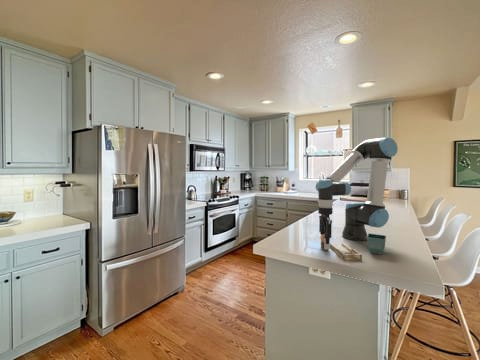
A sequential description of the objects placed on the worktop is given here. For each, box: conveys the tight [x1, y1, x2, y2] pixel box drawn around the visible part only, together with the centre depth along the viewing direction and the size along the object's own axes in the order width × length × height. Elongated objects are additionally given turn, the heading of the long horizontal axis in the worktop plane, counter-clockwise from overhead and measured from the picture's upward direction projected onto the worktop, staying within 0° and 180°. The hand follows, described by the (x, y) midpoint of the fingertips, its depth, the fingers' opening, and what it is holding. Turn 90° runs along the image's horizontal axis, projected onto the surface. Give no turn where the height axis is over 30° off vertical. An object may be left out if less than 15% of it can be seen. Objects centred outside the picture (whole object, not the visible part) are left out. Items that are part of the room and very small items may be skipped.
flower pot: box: [366, 232, 387, 255], centre depth 133 cm, size 9×9×9 cm
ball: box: [320, 234, 325, 243], centre depth 138 cm, size 5×5×5 cm
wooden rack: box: [335, 248, 363, 261], centre depth 127 cm, size 9×9×3 cm
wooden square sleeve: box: [320, 241, 326, 251], centre depth 138 cm, size 3×3×4 cm
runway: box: [330, 242, 353, 254], centre depth 137 cm, size 8×12×2 cm, turn 0°
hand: (325, 247), depth 138 cm, fingers closed on ball, 5 cm apart
